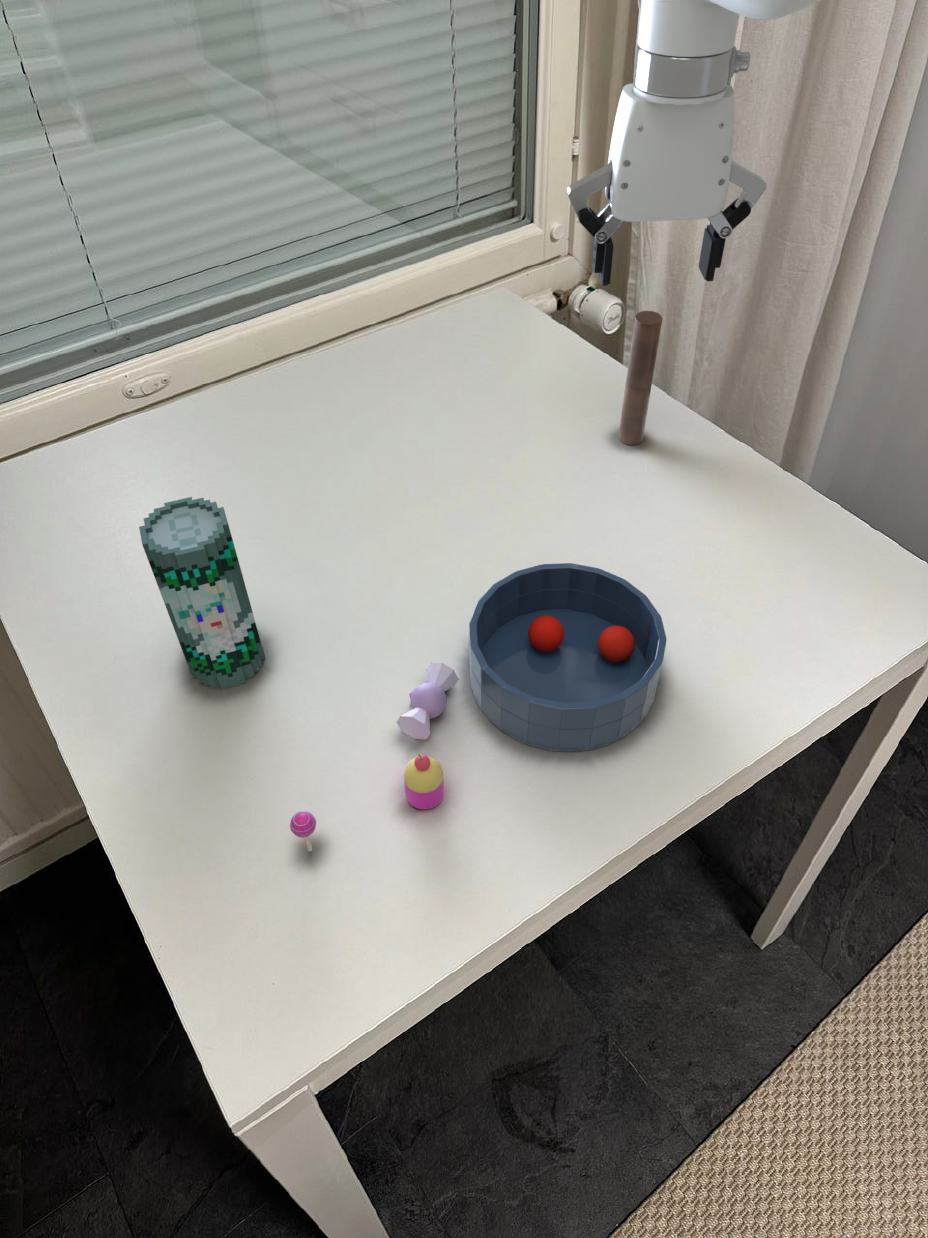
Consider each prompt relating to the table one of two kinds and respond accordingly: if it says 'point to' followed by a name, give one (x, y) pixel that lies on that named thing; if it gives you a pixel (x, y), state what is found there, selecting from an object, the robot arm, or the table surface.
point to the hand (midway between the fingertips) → (654, 276)
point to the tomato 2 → (616, 643)
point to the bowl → (564, 657)
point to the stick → (639, 376)
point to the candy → (421, 771)
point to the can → (203, 590)
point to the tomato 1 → (546, 633)
